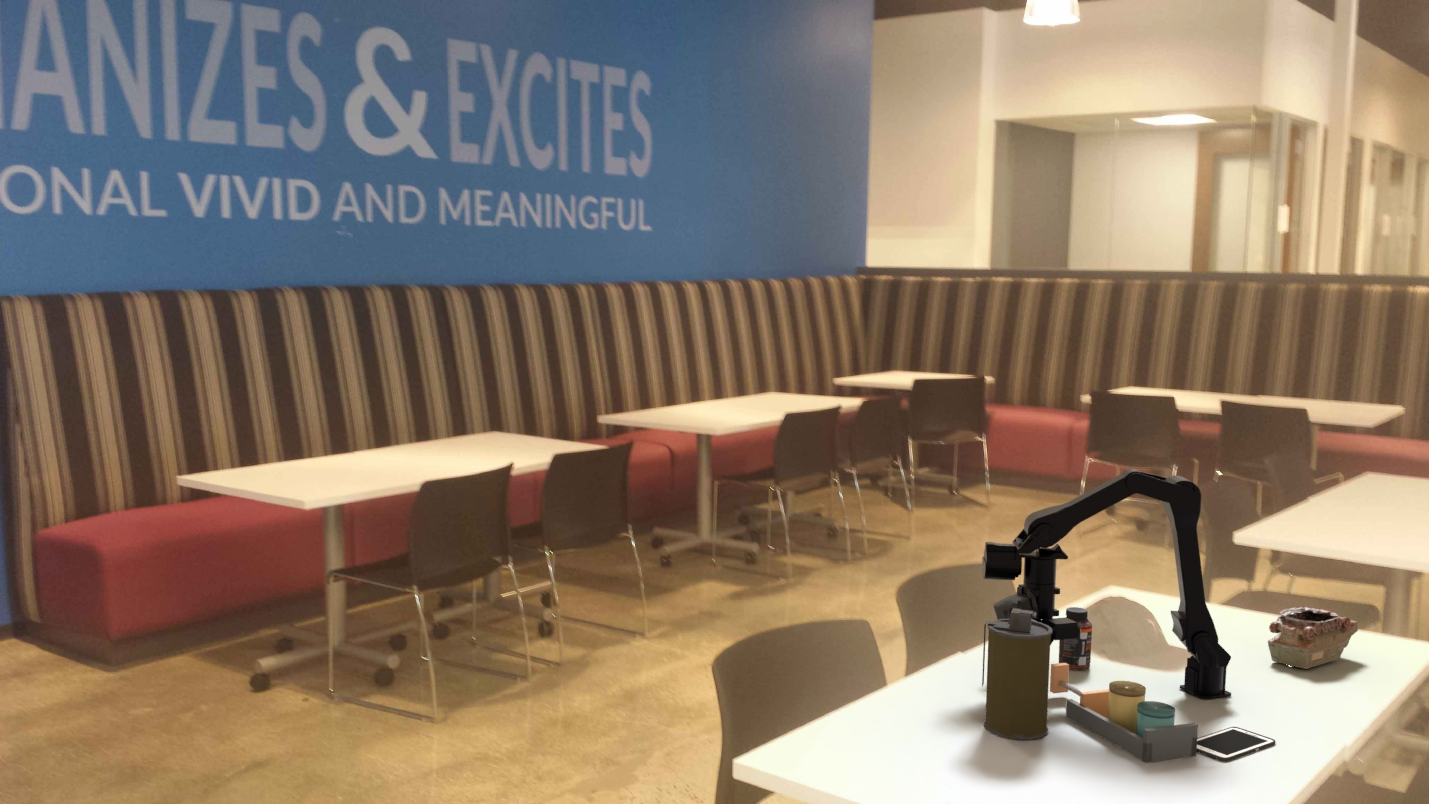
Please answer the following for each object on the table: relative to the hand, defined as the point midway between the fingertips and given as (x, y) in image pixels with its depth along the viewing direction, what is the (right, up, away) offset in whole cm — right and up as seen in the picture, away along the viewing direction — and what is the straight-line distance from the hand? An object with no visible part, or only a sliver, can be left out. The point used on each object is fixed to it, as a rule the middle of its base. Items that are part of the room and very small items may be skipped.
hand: (1036, 663), depth 226 cm
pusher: (+4, -5, -12) cm, 14 cm away
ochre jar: (+8, -6, -24) cm, 26 cm away
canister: (-10, -6, -23) cm, 25 cm away
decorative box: (+59, -3, +19) cm, 62 cm away
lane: (+9, -6, -25) cm, 27 cm away
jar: (+11, -7, -31) cm, 34 cm away
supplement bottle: (+10, -3, +11) cm, 16 cm away
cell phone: (+24, -8, -29) cm, 38 cm away
